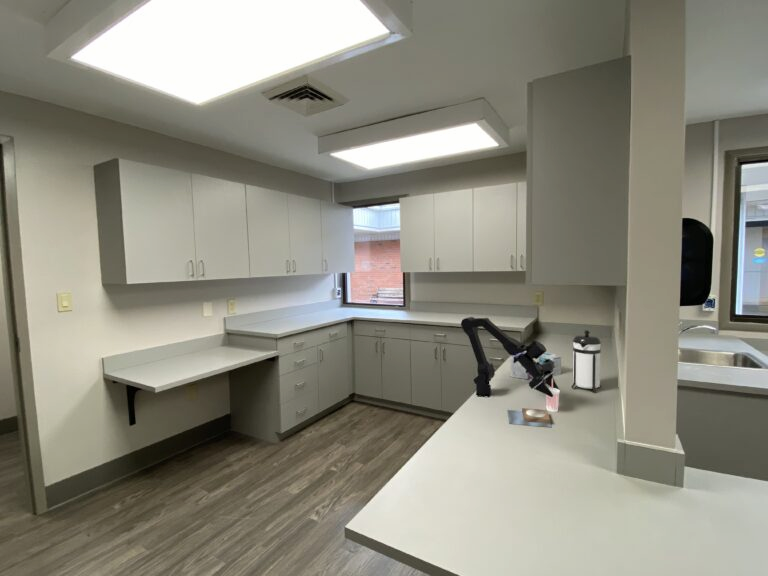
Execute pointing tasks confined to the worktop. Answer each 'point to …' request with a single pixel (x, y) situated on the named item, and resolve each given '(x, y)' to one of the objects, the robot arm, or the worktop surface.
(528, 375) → the ink cartridge box
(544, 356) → the light bulb box
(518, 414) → the blueprint plinth
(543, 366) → the robot arm
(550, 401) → the beverage cup
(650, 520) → the worktop surface
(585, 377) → the coffee press
